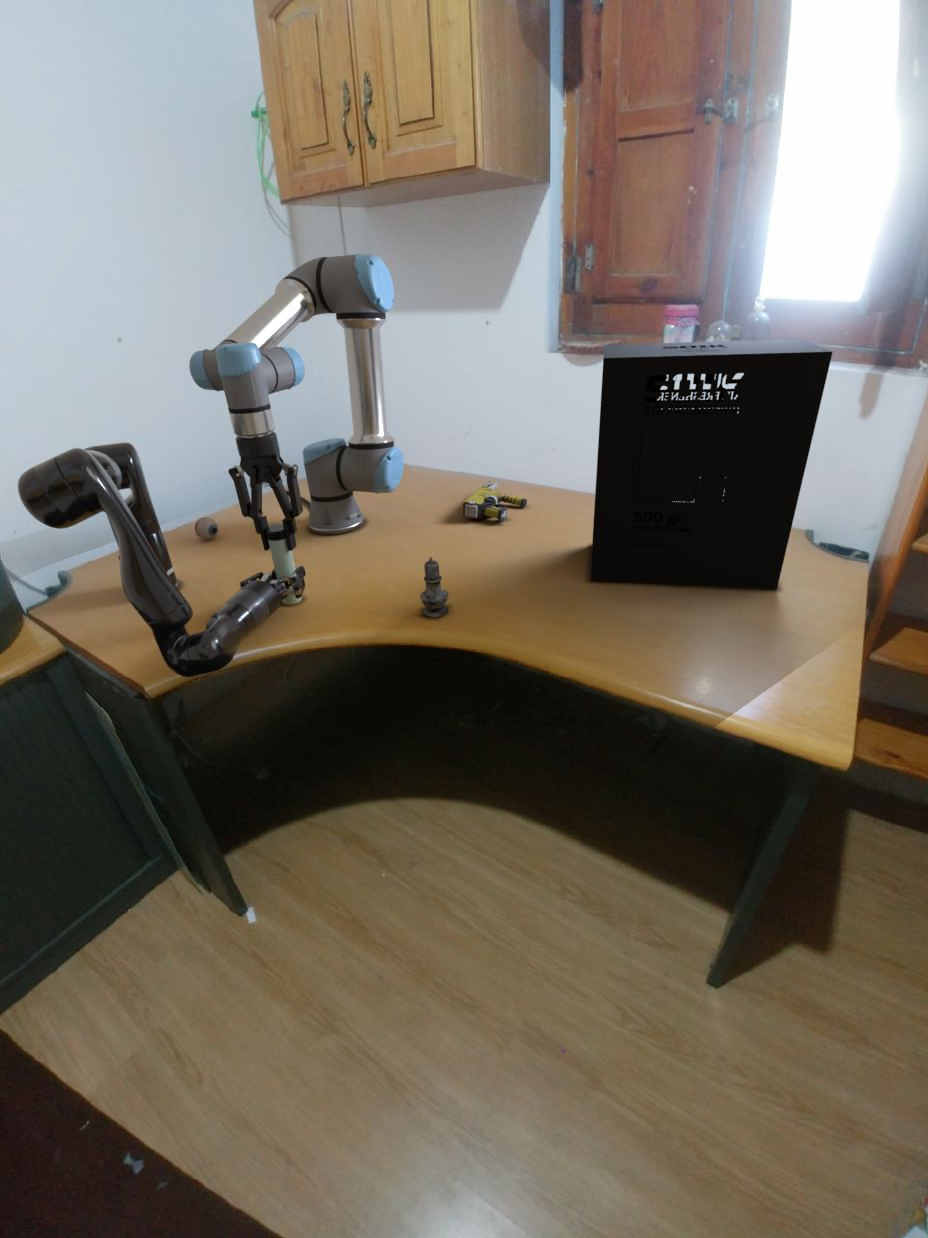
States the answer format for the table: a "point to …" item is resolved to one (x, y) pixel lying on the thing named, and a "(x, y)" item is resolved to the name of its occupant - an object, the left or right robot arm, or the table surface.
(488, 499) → the toy gun
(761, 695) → the table surface
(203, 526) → the eyeball
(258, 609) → the left robot arm
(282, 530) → the lid
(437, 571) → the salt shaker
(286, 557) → the bottle
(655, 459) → the cardboard box
